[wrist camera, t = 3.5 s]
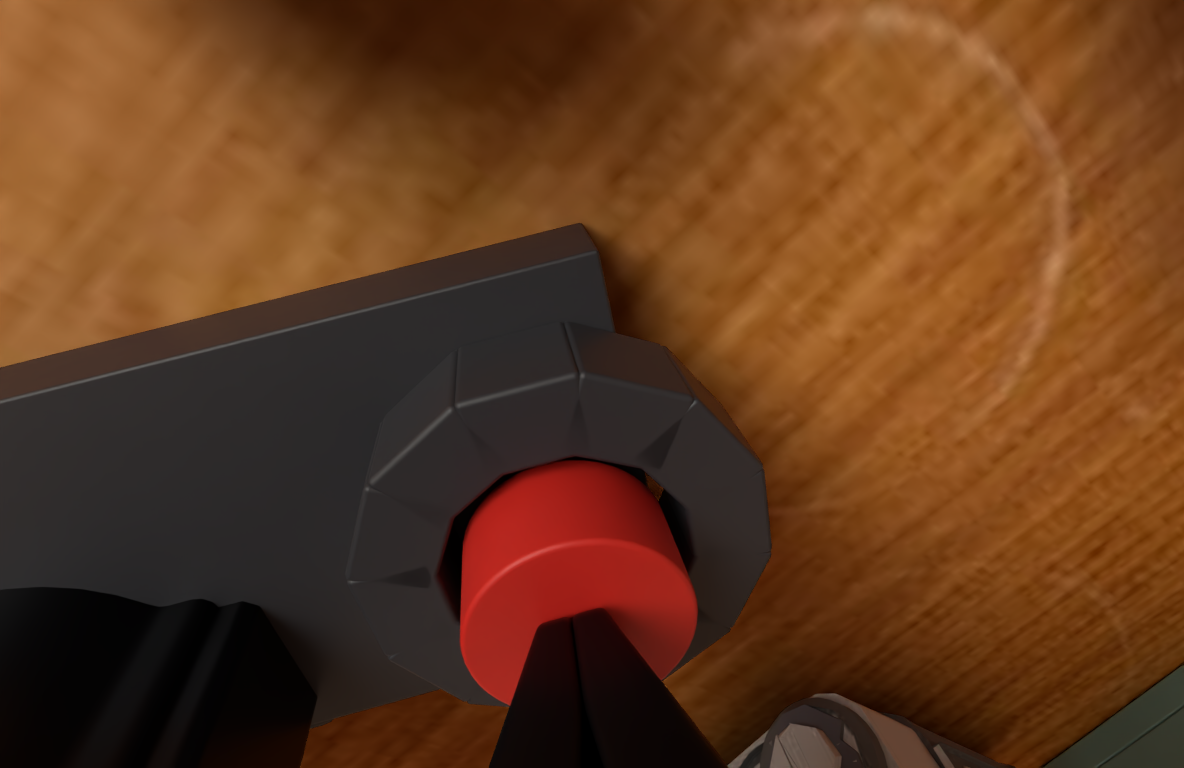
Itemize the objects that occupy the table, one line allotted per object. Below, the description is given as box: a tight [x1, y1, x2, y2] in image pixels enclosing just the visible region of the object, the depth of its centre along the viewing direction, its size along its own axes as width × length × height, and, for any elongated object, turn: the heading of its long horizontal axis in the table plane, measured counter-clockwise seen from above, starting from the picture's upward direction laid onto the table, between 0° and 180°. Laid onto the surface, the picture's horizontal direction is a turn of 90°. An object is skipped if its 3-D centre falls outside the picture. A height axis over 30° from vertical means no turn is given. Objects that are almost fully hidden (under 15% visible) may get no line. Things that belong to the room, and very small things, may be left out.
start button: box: [460, 460, 698, 706], centre depth 9 cm, size 3×3×2 cm
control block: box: [0, 223, 772, 725], centre depth 11 cm, size 16×8×4 cm, turn 102°
